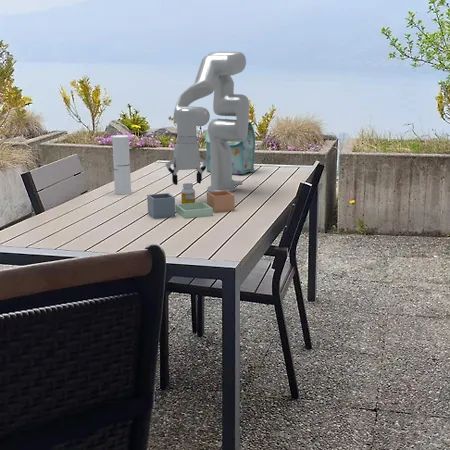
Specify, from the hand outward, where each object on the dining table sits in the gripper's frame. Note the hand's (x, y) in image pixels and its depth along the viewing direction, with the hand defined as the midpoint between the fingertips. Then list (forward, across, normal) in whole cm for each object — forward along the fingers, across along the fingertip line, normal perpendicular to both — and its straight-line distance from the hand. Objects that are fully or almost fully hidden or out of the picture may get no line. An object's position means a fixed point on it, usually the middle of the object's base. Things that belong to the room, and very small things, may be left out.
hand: (187, 183), depth 268 cm
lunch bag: (+8, -45, -67) cm, 81 cm away
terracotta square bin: (+10, -11, +9) cm, 17 cm away
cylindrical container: (+10, +17, -39) cm, 43 cm away
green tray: (+10, +1, +12) cm, 16 cm away
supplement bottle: (+10, -1, -1) cm, 10 cm away
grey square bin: (+10, +13, +9) cm, 19 cm away
